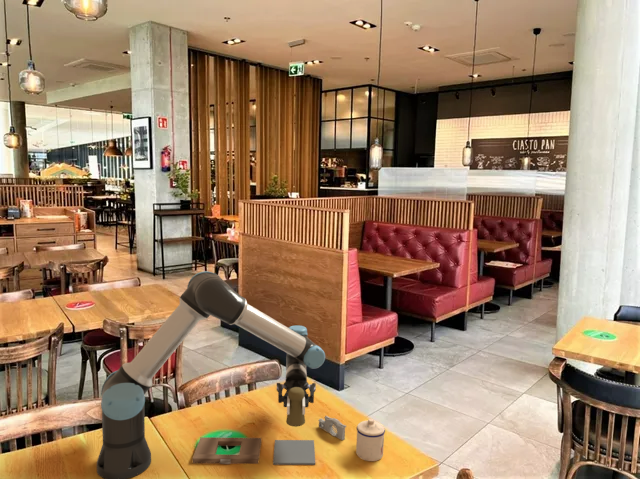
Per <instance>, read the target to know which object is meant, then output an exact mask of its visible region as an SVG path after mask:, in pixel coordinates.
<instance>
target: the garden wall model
mask: <svg viewBox="0 0 640 479" xmlns="http://www.w3.org/2000/svg"><path fill="white" fill-rule="evenodd" d="M318 428H320V429H321V430H323V431H325V432H326V433H329V434H330V435H331V436H333V437H336V438H337V439H339V440H341V441H344V440H345V439H346V437H345V436H346V428H347V425H345V424H343V423H342V422H341V421H340V420H339V419H337V418H333V417H329V416H328V415H325V416H324V417H323V418H319V419H318Z"/></svg>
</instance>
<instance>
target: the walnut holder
mask: <svg viewBox="0 0 640 479" xmlns="http://www.w3.org/2000/svg"><path fill="white" fill-rule="evenodd" d="M222 446H223V447H240V449H239V453H238V454H224V453H223V454H218V453H217V451H218V448H219V447H222ZM261 448H262V437H216V436H215V437H207V436H206V437H199V440H198V442H197V445H196V448H195V451H194V454H193V456H192V464H219V465H231V464H237V465H238V464H244V465H245V464H249V465H251V464H255V465H258V464H259V462H260V455H261Z"/></svg>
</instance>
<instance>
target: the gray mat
mask: <svg viewBox="0 0 640 479" xmlns="http://www.w3.org/2000/svg"><path fill="white" fill-rule="evenodd" d="M273 446H274V448H273V449H274V450H273V458H272V459H273V460H272V465H275V466H279V465H280V466H283V465H284V466H285V465H287V466H296V465H297V466H302V465H303V466H310V465H311V466H315V465H316V451H315V448H316V447H315V440H314V439H275V440H274V445H273Z"/></svg>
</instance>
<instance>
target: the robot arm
mask: <svg viewBox="0 0 640 479" xmlns="http://www.w3.org/2000/svg"><path fill="white" fill-rule="evenodd" d="M210 316H211V317H214V318H215V319H218V320H220V321H221V322H224V323H226V324H227V325H230V326H232V325H236V326H237V327H240V328H241V329H243V330H244V331H246V332H249V333H250V334H252V335H254V336H255V337H257V338H259V339H261V340H263V341H265V342H267V343H268V344H270V345H272V346H274V347H275V348H277V349H279V350H281V351H283V352H284V353H286V355H285V356H286V357H285V358H286V359H285V360H286V364H285V382H283V383H281V382H277V383H276V392H277V395H278V396H277V397H278V398H277V400H278V401H277V402H278V403H279V404H282V403H283V407H284V408H286V416H287V415H289V410H290V399H289V397H288V392H289V390H290V389H291V388H293V387H300V388H302V389H303V390H304V398H303V399H302V415H304V416H305V414H306V408H309V406H310V405H309V404H310V403H311V404H314V403H315V401H314V400H315V399H314V398H315V392H316V385H317V384H316V383H315V382H313V383H310V384H309V382H308V377H307V376H308V374H307V373H308V372H307V367H308V368H309V369H319V368H320V367H321V366H322V365H323V364H324V362H325V360H326V352H325V351H324V350H323V349H322V347H321V346H319V345H318V344H316V343H315V342H314V341H312V340H311V339H310V338H309V337H308V334H309V333H308V329H307V327H305V326H304V325H291V326H286V325H284V324H283V323H281V322H279V321H277V320H276V319H274V317H273V318H272V317H271V316H269V315H267V314H266V313H265V312H262V311H260V310H259V309H257V308H256V307H254V306H252V305H250V304H249V303H248V301H247V299H246V297H243V296H242V295H240V294H239V293H238V292H237V291H235V290H234V289H233V288H232V287H231V286H230V285H229V284H228V283H227V282H226V281H225V280H224V279H223V278H221V276H220V275H219V274H217V273H215V272H213V271H207V270H205V271H204V270H203V271H200V272H197V273H196V274H194V275H193V276H191V278H190V279H189V281H188V284H187V287H186V289H185V290H184V291H183V293H182V294H181V295H180V296H179V305H178V306H177V307H176V308H175V309H174V310H173V311H172V313H171V314H170V315H169V316H168V317H167V319H166V320H165V321H164V322H163V324H161V326H160V327H159V328H158V330H157V331H156V332H155V333H154V334H152V336H151V338H150V339H149V340H148V341H147V342H146V344H145V345H144V346H143V347H142V349H140V351H139V352H138V353H137V355H135V357H134V358H133V359H132V360H131V361H130V362H124V363H123V364H122V365H121V366H120V367H119V368H118V369H117V370H115V371H113V372H111V373H110V374H109V375H108V376H107V377H106V379H105V380H104V382H103V384H102V386H101V393H100V395H101V396H100V397H101V401H100V402H101V403H100V405H101V406H100V407H101V415H102V416H101V422H102V426H101V428H102V429H101V430H102V446H101V448H100V451H99V454H98V457H97V461H96V473H97V475H98V476H99V477H101V478H103V479H130V478H134V477H136V476H138V475H140V474H142V473H143V472H145V471H146V470H147V469H148V468H149V467H150V466H151V464H152V452H151V449H150V447H149V444H148V442H147V440H146V437H145V436H146V435H145V434H146V433H145V431H146V429H145V425H146V424H145V423H146V422H145V420H146V419H145V402H146V396H145V395H146V394H147V392H148V391H149V390H150V389H151V388H152V386H153V378H154V376H155V375H156V374H157V373H158V372H159V370H160V369H161V368H162V367H163V366H164V364H165V363H166V361H168V360H169V358H170V357H171V356H172V355H173V354H174V352H175V351H176V350H177V349H178V347H179V346H180V345H181V344H182V342H183V341H184V340H185V339H186V338H187V337H188V335H189V334H190V333H191V332H192V331H193V329H194V328H195V327H196V326H197V324H198V323H199V322H200V321H202V320H208V319H209V317H210ZM283 390H285V393H284V395H283ZM306 390H308V391H309V393H308V392H307V391H306Z"/></svg>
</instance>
